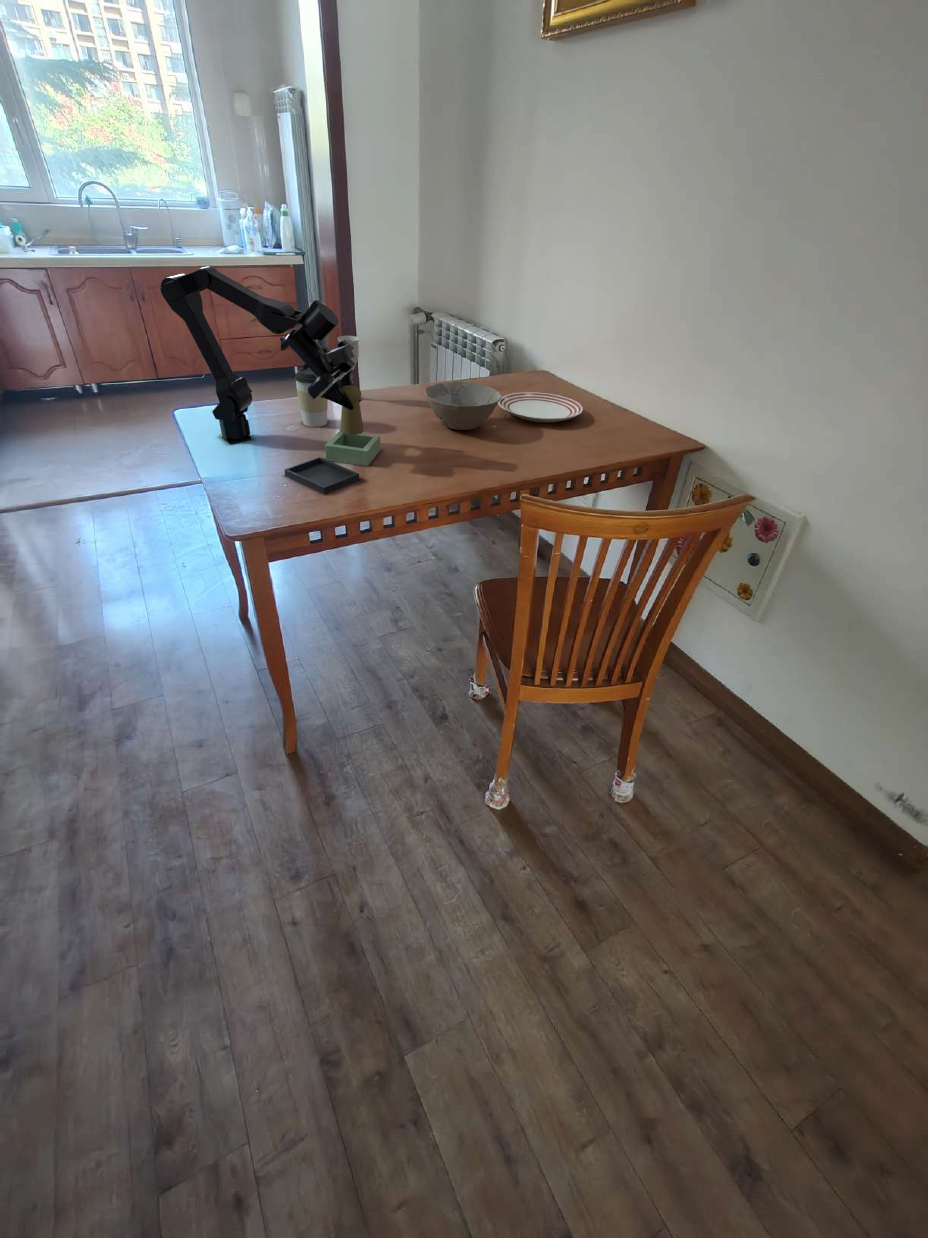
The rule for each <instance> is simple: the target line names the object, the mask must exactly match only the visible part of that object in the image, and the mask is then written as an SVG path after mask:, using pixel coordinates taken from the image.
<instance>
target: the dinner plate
mask: <svg viewBox="0 0 928 1238" xmlns="http://www.w3.org/2000/svg"><path fill="white" fill-rule="evenodd" d="M497 405H498V406H499V407H500V408H501V409H502V410H504V411H505V412H507V413H508V414H510V415H513V416H514V417H517V418H519V419H521V420H524V421H528V422H533V423H541V424H542V423H543V424H546V423H547V424H548V423H549V424H551V423H559V422H563V421H568V420H571V419H573V418H575V417H577V416H579V415H580V414H582V413H583V411H584V408H583V406H582V404H581V403H580V402H578V401H576V400H574V399H571V398H569V397H567V396H563V395H558V394H555V393H547V392H535V391H533V392H532V391H526V392H525V391H523V392H514V393H509V394H506V395H503V396H502V397H501V399H500V401H499V402H498V404H497Z"/></svg>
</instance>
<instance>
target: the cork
mask: <svg viewBox="0 0 928 1238" xmlns="http://www.w3.org/2000/svg"><path fill="white" fill-rule="evenodd" d="M341 389H342V390H343V391H344V393H345V394H346V396H347V397H348V399H349V400H350V401H351V403H352V404H353V406H354V408H353V409H352V410H350V409H348V408H345V407H343V406H341V414H340V426H339V427H340V428H339V431H341V432H342V433H344V434H348V435H357V434H361V433H363V434H364V432H365V429H364V423H363V417H362V409H361V405H360V403H361V402H360V403H359V400H361V398H362V390H361V389H360V387H358V386H357V385H354V386H351V385H348V386H344V387H342V388H341Z"/></svg>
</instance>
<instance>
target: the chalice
mask: <svg viewBox="0 0 928 1238" xmlns="http://www.w3.org/2000/svg"><path fill="white" fill-rule="evenodd" d="M343 340H346V341H347V342H348V343H350V345H351V346H353V350H352V352H353V354H354V358H353V357H352V358H351V360H352V361H353V362H354V363H355V365H354V366H353V367H352V368H351V369H352V371H354V370H355V368H356V365H357V363H358V360H359V356H360V351H359V349H360V348H359V342H360V337H358V336H355V335H341V336H337V341H338V343H339V342H341V341H343ZM351 369H350V370H351ZM350 370H349V371H350ZM349 371H348V372H349ZM353 378H354V375H352V377H351V380H352V381H353Z"/></svg>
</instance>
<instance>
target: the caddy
mask: <svg viewBox="0 0 928 1238" xmlns="http://www.w3.org/2000/svg"><path fill="white" fill-rule="evenodd" d="M324 449H325V459H326V460H328V461H331V462H334V463H335V462H337V463H341V464H342V463H344V464H350V465H358V466H362V467H363V466H364V467H368V466H369V465H370V464H371V463H372V461H373V460H374V459H375V458H376V456H377V455H378V454H379V453H380V452H381V435H377V434H369V433H364V432H363V433H361V434H357V435H348V434H344V433H342V432H341V431H340V430H339V431H338V432H337V433H336V434H335V435H334V436H333V437H332V438H331V439H330V440H329V441H328V442H327V443H326V444H325V445H324Z"/></svg>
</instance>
